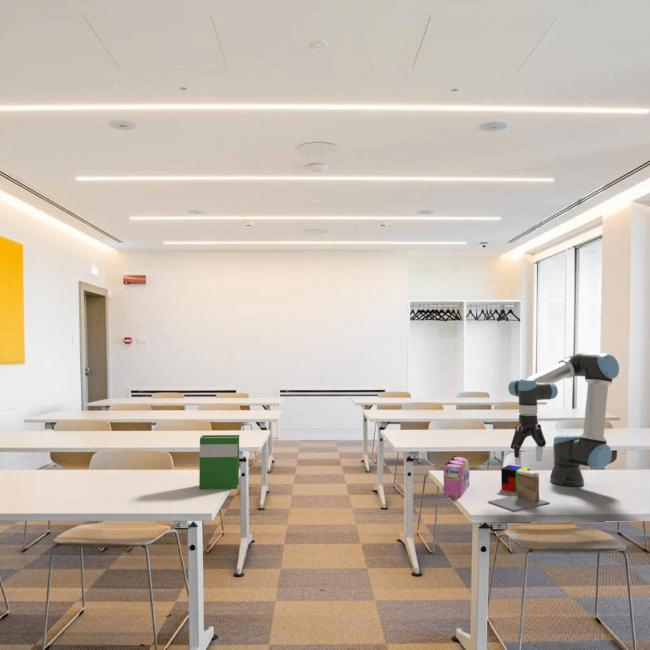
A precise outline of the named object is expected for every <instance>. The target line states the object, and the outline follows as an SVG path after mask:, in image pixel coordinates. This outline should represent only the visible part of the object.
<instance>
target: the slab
mask: <svg viewBox="0 0 650 650" xmlns="http://www.w3.org/2000/svg"><path fill="white" fill-rule="evenodd" d="M539 475H540V473H539V472H538V473H537V472H534V471H531V470H530V471H527V470H518V471H517V480H518V493H517V495H518V498H519V499H522V500H526V501H529V502H532V503H535V502H539V499H540V476H539Z"/></svg>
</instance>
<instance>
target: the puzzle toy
mask: <svg viewBox="0 0 650 650" xmlns="http://www.w3.org/2000/svg"><path fill="white" fill-rule="evenodd" d="M500 469H501V472H500V474H501V477H500V478H501V480H500V481H501V491H505V492H510V491H511V492H510V493H516V494H518V480H517V471H518V470H527V471H531V468H530V467H526V466H520V465H513V464H508V465H505V466H504V467H502V468H500Z"/></svg>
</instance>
